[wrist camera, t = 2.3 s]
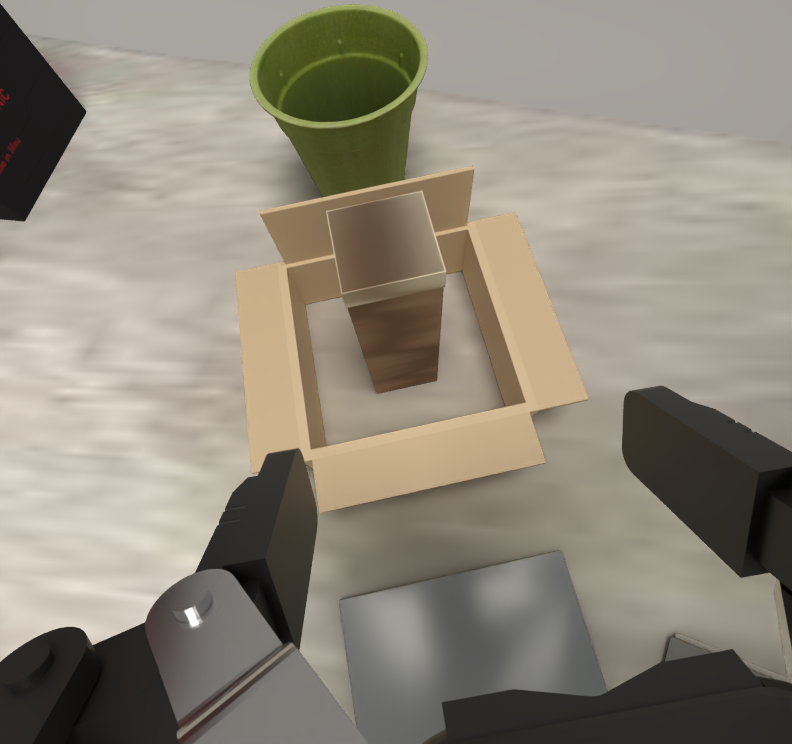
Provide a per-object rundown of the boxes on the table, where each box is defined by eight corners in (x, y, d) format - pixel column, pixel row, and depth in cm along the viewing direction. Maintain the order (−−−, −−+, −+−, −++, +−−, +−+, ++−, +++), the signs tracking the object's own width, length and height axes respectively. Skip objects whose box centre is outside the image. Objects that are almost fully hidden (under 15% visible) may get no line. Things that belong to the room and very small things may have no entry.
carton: (503, 255, 35) (531, 153, 26) (578, 462, 29) (652, 427, 19) (260, 307, 35) (200, 223, 25) (283, 528, 28) (214, 524, 19)
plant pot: (347, 124, 41) (320, -15, 31) (452, 171, 38) (462, 35, 28) (269, 208, 38) (211, 84, 28) (377, 266, 35) (357, 152, 25)
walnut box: (423, 326, 33) (422, 190, 20) (437, 381, 31) (446, 271, 18) (365, 339, 33) (326, 211, 20) (376, 394, 31) (341, 294, 18)
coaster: (558, 550, 27) (561, 550, 26) (652, 842, 22) (658, 849, 21) (340, 599, 27) (338, 600, 26) (384, 905, 22) (383, 915, 21)
